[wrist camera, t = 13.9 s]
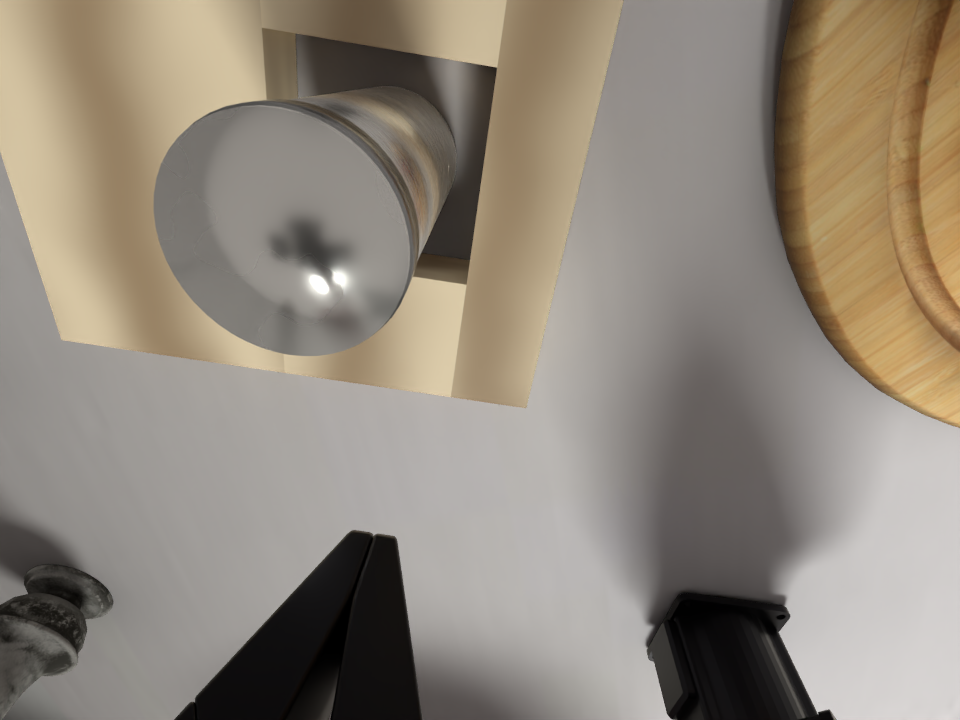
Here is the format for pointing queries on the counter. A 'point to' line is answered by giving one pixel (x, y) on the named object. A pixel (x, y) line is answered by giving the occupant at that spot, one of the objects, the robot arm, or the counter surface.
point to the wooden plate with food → (876, 188)
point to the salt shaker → (46, 627)
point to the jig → (273, 75)
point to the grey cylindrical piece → (304, 213)
